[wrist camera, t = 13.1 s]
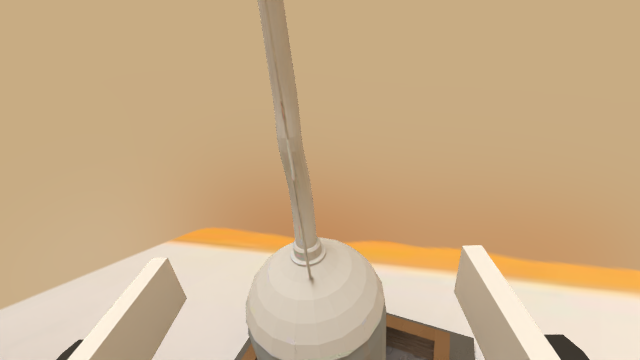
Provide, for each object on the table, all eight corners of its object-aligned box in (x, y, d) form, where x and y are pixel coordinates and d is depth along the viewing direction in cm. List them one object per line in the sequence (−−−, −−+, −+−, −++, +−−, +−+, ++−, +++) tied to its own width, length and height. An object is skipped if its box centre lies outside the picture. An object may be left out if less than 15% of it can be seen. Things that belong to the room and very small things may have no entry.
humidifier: (375, 347, 23) (370, -22, 11) (416, 492, 15) (524, -143, 4) (277, 363, 22) (167, -1, 11) (271, 520, 15) (-84, -89, 4)
